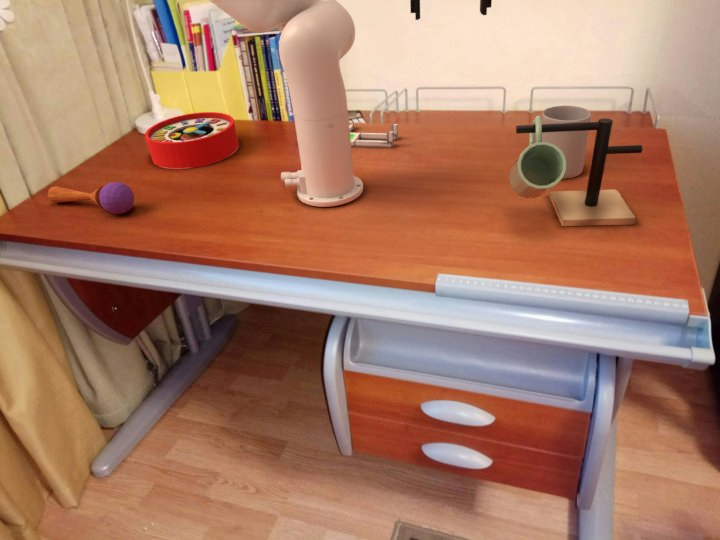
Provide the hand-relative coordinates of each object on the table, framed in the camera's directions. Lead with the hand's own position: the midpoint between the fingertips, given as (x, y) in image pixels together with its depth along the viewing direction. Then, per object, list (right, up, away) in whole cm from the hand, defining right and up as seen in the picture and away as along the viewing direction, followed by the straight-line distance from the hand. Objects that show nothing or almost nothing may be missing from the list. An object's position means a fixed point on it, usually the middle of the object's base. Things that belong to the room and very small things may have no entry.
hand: (450, 15), depth 82 cm
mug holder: (+21, -28, +10) cm, 37 cm away
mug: (+25, -18, +24) cm, 39 cm away
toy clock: (-52, -10, +47) cm, 70 cm away
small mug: (+14, -21, +8) cm, 26 cm away
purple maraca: (-65, -26, +26) cm, 75 cm away
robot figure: (-16, -9, +44) cm, 48 cm away
